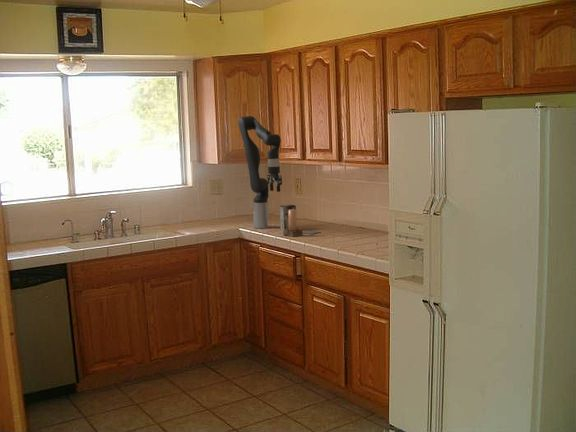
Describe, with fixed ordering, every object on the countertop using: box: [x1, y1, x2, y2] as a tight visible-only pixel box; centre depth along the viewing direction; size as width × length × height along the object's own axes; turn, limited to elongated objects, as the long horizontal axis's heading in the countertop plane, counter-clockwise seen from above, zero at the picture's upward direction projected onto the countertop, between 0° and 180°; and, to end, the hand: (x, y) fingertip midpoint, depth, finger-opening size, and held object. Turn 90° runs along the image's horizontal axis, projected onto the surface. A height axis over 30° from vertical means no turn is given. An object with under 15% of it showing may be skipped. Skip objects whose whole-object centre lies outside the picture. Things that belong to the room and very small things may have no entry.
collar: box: [282, 229, 303, 238], centre depth 422 cm, size 8×8×3 cm
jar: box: [288, 209, 298, 232], centre depth 421 cm, size 5×5×16 cm
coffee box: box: [279, 204, 297, 231], centre depth 444 cm, size 9×6×16 cm
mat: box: [302, 230, 321, 235], centre depth 429 cm, size 9×9×1 cm
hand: (275, 191), depth 434 cm, fingers open, 8 cm apart
